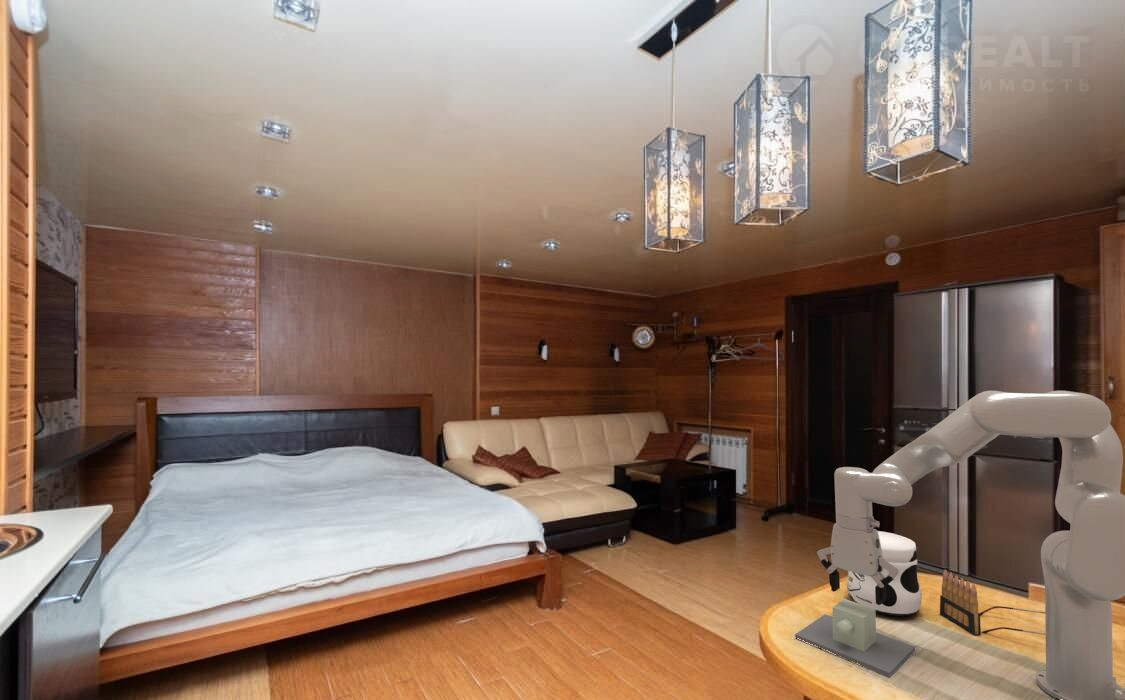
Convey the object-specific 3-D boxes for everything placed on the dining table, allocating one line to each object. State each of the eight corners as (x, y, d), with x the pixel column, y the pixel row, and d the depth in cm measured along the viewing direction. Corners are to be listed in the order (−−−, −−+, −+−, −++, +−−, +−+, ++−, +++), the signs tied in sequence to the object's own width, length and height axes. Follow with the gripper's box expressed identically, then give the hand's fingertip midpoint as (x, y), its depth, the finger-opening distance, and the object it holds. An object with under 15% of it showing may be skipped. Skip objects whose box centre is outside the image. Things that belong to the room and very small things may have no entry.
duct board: (915, 651, 120) (915, 624, 120) (889, 677, 109) (889, 648, 110) (825, 617, 135) (825, 594, 135) (795, 638, 125) (795, 612, 125)
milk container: (832, 597, 147) (831, 532, 147) (876, 588, 153) (876, 526, 154) (890, 627, 131) (889, 553, 131) (937, 615, 137) (937, 545, 137)
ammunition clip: (981, 635, 127) (980, 585, 127) (973, 635, 127) (973, 585, 127) (946, 614, 138) (945, 568, 138) (939, 614, 138) (939, 568, 138)
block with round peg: (844, 629, 127) (844, 598, 127) (875, 641, 122) (875, 609, 122) (826, 643, 121) (826, 611, 121) (858, 656, 115) (858, 622, 116)
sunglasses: (1073, 657, 118) (1071, 634, 119) (982, 641, 127) (980, 619, 127) (1059, 631, 130) (1057, 611, 130) (976, 618, 139) (975, 598, 139)
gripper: (901, 526, 119) (905, 603, 118) (823, 511, 132) (826, 580, 131) (889, 533, 114) (893, 614, 113) (809, 517, 127) (812, 589, 126)
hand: (857, 596), depth 122 cm, fingers open, 9 cm apart
